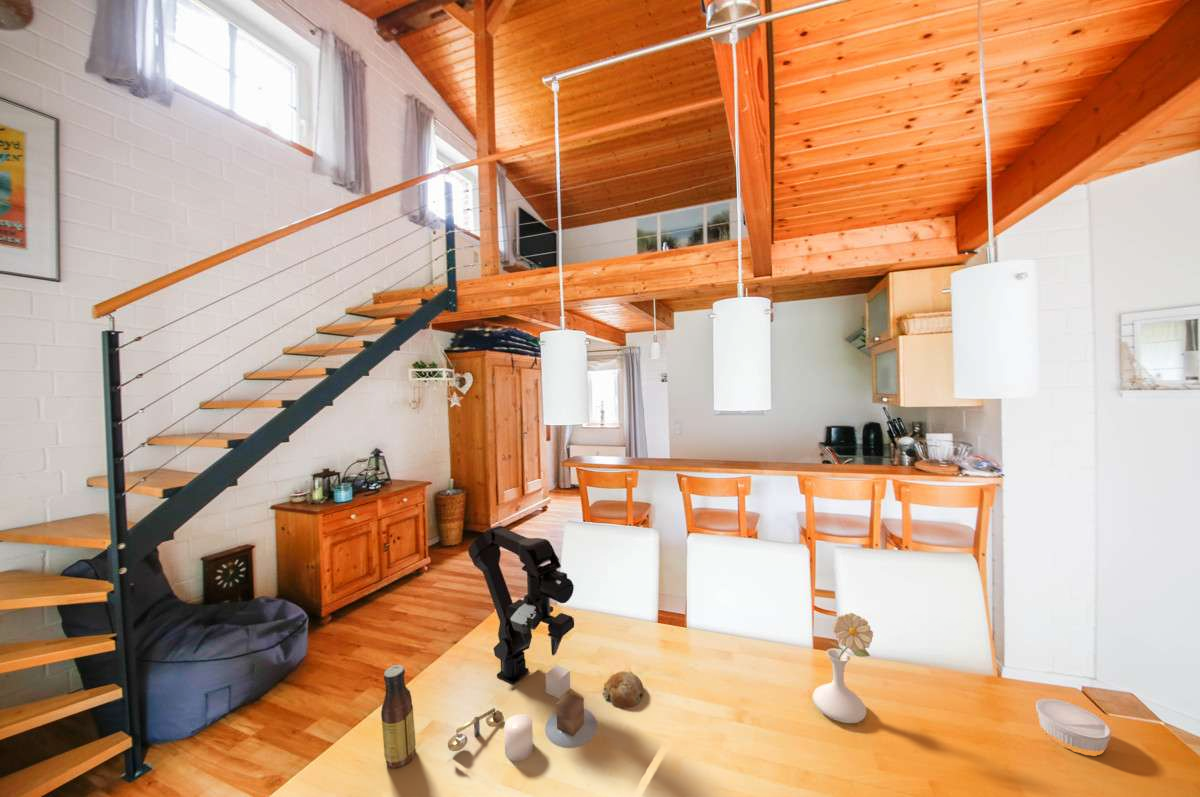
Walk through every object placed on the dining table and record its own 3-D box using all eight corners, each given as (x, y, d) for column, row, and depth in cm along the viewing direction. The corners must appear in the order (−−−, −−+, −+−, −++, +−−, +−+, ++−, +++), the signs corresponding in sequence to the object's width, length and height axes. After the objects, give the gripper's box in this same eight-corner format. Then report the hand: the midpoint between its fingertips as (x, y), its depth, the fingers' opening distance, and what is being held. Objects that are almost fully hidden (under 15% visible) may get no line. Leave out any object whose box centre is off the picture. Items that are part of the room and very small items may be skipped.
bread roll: (634, 729, 106) (647, 702, 105) (596, 707, 108) (609, 680, 107) (638, 700, 116) (650, 674, 115) (603, 680, 117) (615, 655, 116)
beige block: (546, 697, 113) (545, 674, 112) (556, 686, 116) (556, 664, 116) (559, 703, 110) (559, 680, 110) (570, 692, 114) (569, 670, 114)
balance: (494, 715, 107) (494, 690, 106) (506, 721, 104) (506, 696, 104) (444, 760, 94) (443, 732, 94) (456, 768, 92) (455, 740, 92)
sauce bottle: (407, 741, 100) (404, 655, 99) (421, 755, 96) (418, 666, 95) (378, 760, 94) (374, 671, 94) (391, 776, 91) (387, 683, 90)
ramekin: (1100, 770, 88) (1100, 745, 88) (1026, 732, 98) (1026, 709, 98) (1118, 748, 93) (1119, 724, 93) (1046, 713, 103) (1047, 691, 103)
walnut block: (557, 728, 100) (556, 703, 100) (568, 716, 104) (568, 691, 104) (572, 736, 98) (572, 710, 98) (584, 723, 102) (583, 698, 102)
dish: (534, 738, 99) (534, 733, 99) (566, 705, 109) (565, 700, 109) (577, 761, 93) (577, 756, 93) (606, 724, 103) (606, 719, 103)
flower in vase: (806, 712, 105) (804, 610, 104) (820, 687, 113) (819, 592, 113) (868, 741, 96) (867, 630, 95) (879, 712, 105) (878, 609, 104)
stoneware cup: (498, 759, 94) (497, 728, 94) (518, 738, 100) (517, 709, 99) (520, 772, 91) (519, 740, 90) (540, 750, 96) (539, 720, 96)
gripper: (489, 594, 111) (491, 654, 111) (546, 613, 101) (548, 679, 101) (519, 577, 120) (521, 632, 121) (574, 593, 110) (576, 654, 111)
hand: (540, 649), depth 113 cm, fingers open, 9 cm apart
